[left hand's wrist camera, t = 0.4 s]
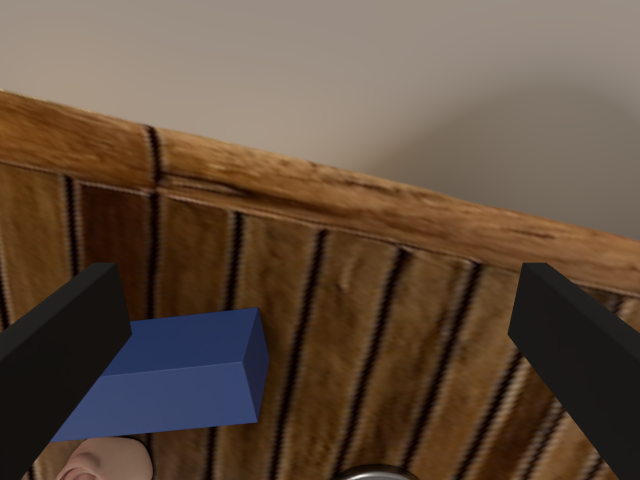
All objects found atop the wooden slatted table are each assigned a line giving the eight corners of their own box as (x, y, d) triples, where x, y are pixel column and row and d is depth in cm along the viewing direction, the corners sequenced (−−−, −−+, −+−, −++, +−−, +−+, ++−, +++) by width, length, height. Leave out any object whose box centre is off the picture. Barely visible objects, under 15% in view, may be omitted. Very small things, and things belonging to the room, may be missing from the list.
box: (258, 307, 43) (242, 361, 34) (269, 359, 45) (257, 422, 37) (31, 332, 44) (-39, 391, 35) (55, 381, 47) (-5, 447, 38)
